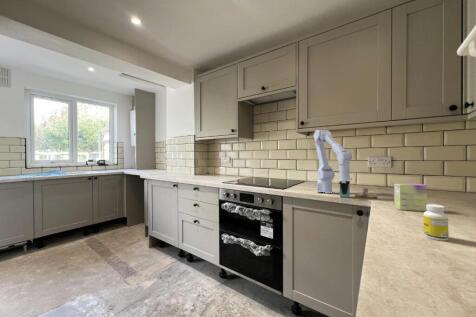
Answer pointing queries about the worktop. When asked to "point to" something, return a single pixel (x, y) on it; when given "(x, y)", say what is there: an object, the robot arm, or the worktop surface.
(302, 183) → the worktop surface
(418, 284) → the worktop surface
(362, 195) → the post board
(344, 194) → the teal rectangular block
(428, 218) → the supplement bottle
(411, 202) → the box
